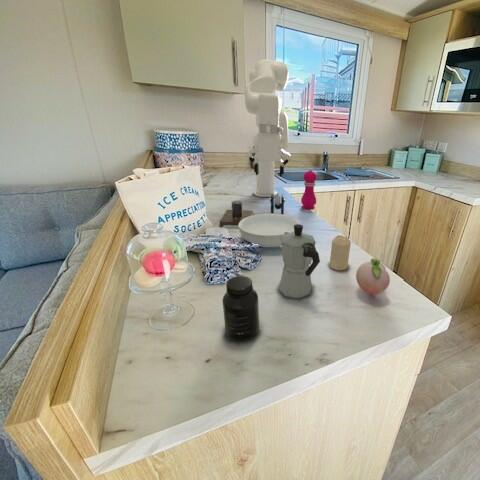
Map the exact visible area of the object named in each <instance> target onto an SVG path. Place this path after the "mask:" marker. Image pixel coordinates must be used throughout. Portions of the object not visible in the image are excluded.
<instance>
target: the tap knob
mask: <svg viewBox="0 0 480 480" xmlns="http://www.w3.org/2000/svg"><path fill="white" fill-rule="evenodd" d="M231 210H232V216H233V217H242V216H243V213H242V210H243V202H242V200H241V201H239V200H233V201H231Z"/></svg>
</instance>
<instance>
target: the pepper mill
mask: <svg viewBox="0 0 480 480" xmlns="http://www.w3.org/2000/svg"><path fill="white" fill-rule="evenodd" d="M317 179H318V175H317V173H316V172H315V171H313V168H312V167H309V168H308V170H307V171H305V172H304V174H303V180H304V183H303V185H304V192H303V194H302V196H301V199H300V203H301V204H302V205H301V208H302V209H303V210H307V211H312V210H315V209H316V207H315V205H316V204H317V197H316V195H315V186H316V181H317Z"/></svg>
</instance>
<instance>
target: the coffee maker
mask: <svg viewBox="0 0 480 480" xmlns="http://www.w3.org/2000/svg"><path fill="white" fill-rule="evenodd" d="M303 231H304V225H303V224H301V223H300V224H296V225H294V232H295V233H288V232H284V235H283V236H281V237H280V239H281V246H280V247H281V252H282V253H281V254H282V261H283V268H282V273H281V279H280V283H279V288H278V290H279V292H280V293H281V294H282V295H283V297H285V298H291V299H298V300H299V299H301V298H304V297H307V296H309V295H311V291H312V286H313V285H312V278H311V275H312V273H313V272H314V271H315V269H316V268H317V266H318V265H319V264H320V262H321V260H320V254H319V252H318V250H317V247H316V240H315V238H314V236H313V235H312V234H308V233H305V232H303Z"/></svg>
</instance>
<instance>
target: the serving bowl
mask: <svg viewBox="0 0 480 480" xmlns="http://www.w3.org/2000/svg"><path fill="white" fill-rule="evenodd" d="M296 224H300V225H301V222H300V221H299V220H298V219H297V218H295V217H293V216H291V215H286V214H284V215H282V214H281V213H274V214H272V213H271V212H270V213H258V214H257V213H256V214H253V215H252V216H249V217H246V218H244V219H242V220H241V221H240V222H239V225H237V226H238V230H239V233H240V235H241V237H242V238H243V240H245V241H246V240H247V242H248V241H249V242H251V243H254V244H258V245H261V246H260V247H263V248H276V247H281V239H280V237H281V236H283V235H284V232H288V233H295V232H294V225H296ZM249 242H248V243H249ZM251 243H250V244H251ZM254 244H253V245H254Z"/></svg>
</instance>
